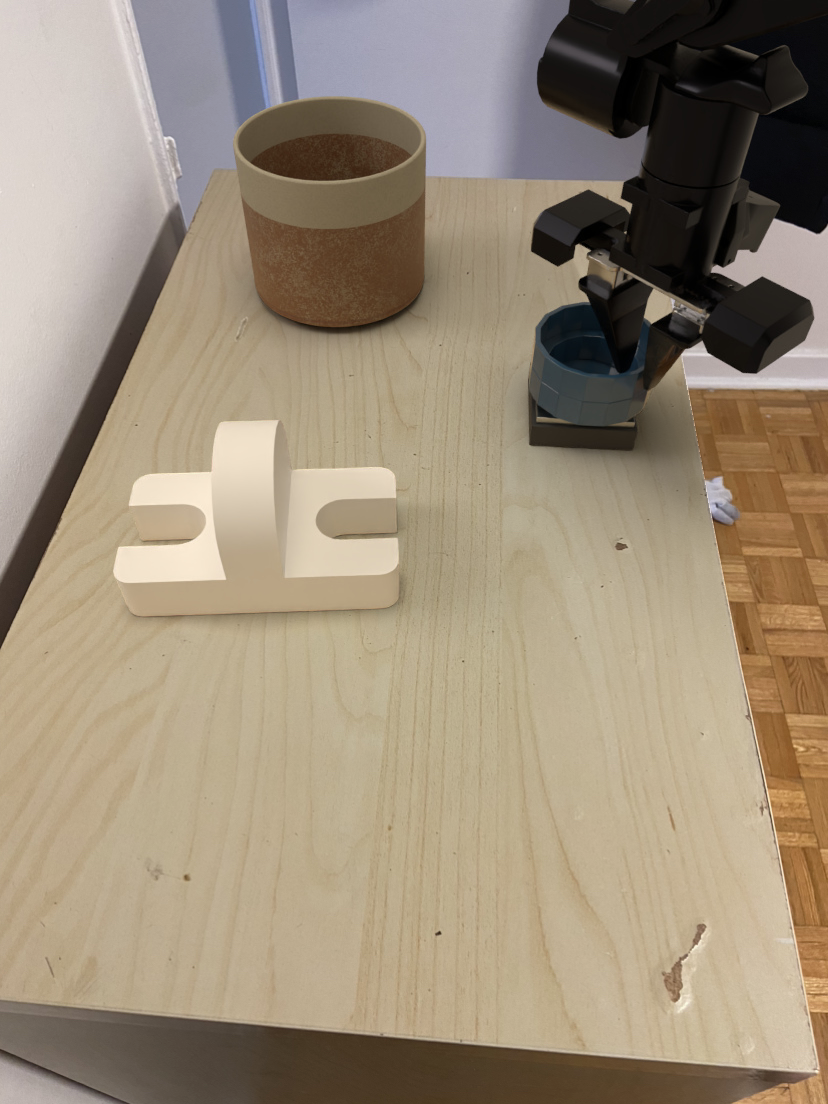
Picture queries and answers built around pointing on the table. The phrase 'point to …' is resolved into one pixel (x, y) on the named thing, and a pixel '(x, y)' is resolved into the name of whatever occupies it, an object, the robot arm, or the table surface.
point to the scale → (577, 431)
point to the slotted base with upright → (260, 533)
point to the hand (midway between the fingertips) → (636, 379)
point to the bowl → (584, 370)
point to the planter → (334, 208)
